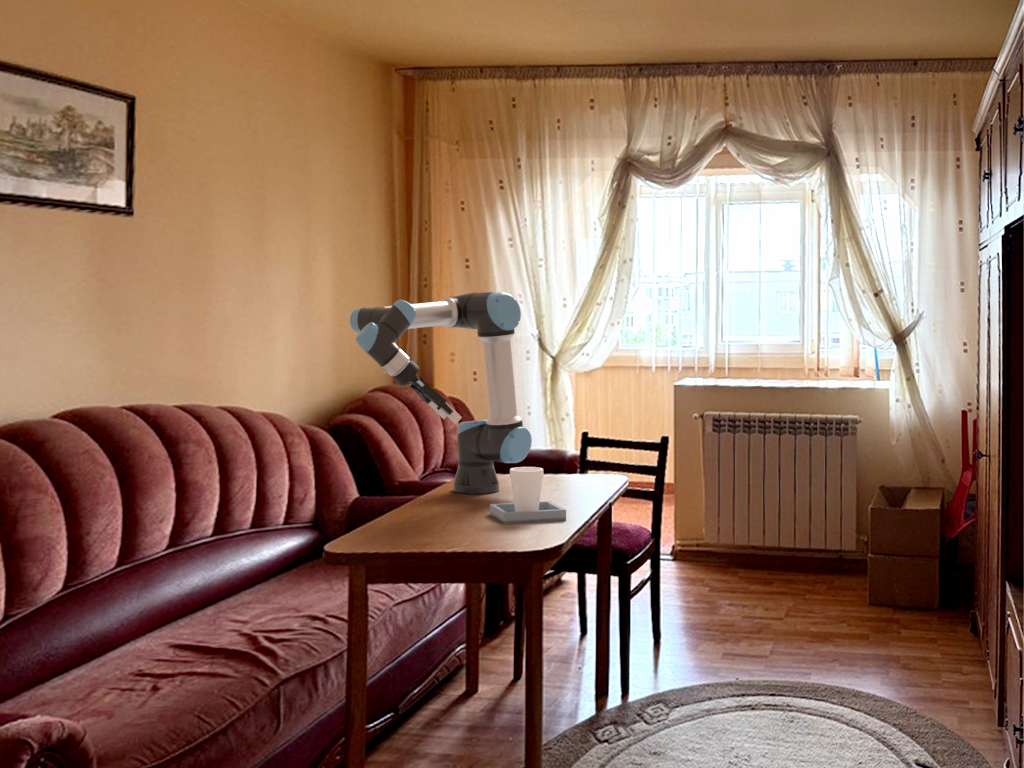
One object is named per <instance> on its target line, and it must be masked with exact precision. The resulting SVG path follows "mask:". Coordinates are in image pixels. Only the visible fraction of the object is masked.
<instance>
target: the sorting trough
mask: <svg viewBox="0 0 1024 768" xmlns="http://www.w3.org/2000/svg"><path fill="white" fill-rule="evenodd" d="M489 515H490V516H491V517H493V518H495V519H496V520H498V521H499V522H500V523H502V524H503V525H510V524H512V525H513V524H526V523H528V524H529V523H544V522H546V523H547V522H562V521H563V522H565V521H567V510H566V509H565V508H563V507H561V506H560V505H558V504H556V503H554V502H552V501H550V500H544V501H540V503H539V511H522V512H515V506H514V502H508V503H507V502H506V503H490V504H489Z"/></svg>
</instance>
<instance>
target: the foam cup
mask: <svg viewBox="0 0 1024 768" xmlns="http://www.w3.org/2000/svg"><path fill="white" fill-rule="evenodd" d="M509 478H510V483H511V491H512V498H513V503H514V506H515V512H522V511H539V503H540V500H541V493H542V486H543V485H542V484H543V480H544V479H543V478H544V468H542V467H538V466H537V467H536V466H520V467H519V466H517V467H511V468H510V469H509Z"/></svg>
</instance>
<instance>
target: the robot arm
mask: <svg viewBox="0 0 1024 768" xmlns="http://www.w3.org/2000/svg"><path fill="white" fill-rule="evenodd" d="M521 317H522V312H521V307H520V305H519V302H518V301H517V299H516V298H515V297H514V295H512V294H510V293H508V292H503V291H502V292H501V291H490V292H489V291H486V292H469V293H464V294H460V295H459V294H458V295H453V296H450V297H449V296H448V297H443V298H441V299H440V300H439V301H429V302H418V303H417V302H416V303H410V302H408V301H406V300H404V299H398V300H396V301H395V302H394V303H392V304H391V305H386V306H385V305H383V306H376V307H373V306H372V307H358V308H355V309H354V310H352V312H351V313H350V316H349V325H350V328H351V329H352V330H353V331H354V332H356V333H357V334H356V336H355V341H356V343H357V345H358V346H359V348H361V349H362V351H364V353H366V354H367V355H368V356H369V357H371V359H373V360H374V361H375V363H377V364H378V366H380V367H381V368H382V369H383V370H382V372H383V373H384V374H388V375H389V376H391V377H392V379H393V380H394V381H395V383H397V384H398V385H399V386H400V387H404V386H406V385H407V384H408V386H409V387H410V389H411V390H412V391H414V392H415V393H416V394H417V395H418V396H419V398H420V399H421V400H422V401H423V402H425V403H426V404H428V406H429V407H430V408H432V410H433V411H434V412H435V413H436V414H437V415H438V416H440V418H442V420H445V419H446V418H448V419H450V421H451V422H452V423H454V425H457V424H458V426H457V461H458V462H457V465H458V466H457V470H456V473H455V477H454V480H453V484H452V491H453V492H454V493H458V494H469V495H470V494H471V495H472V494H476V495H477V494H478V495H479V494H490V493H491V494H492V493H497V492H498V491H500V481H499V479H498V476H497V473H496V469H495V465H494V464H495V463H494V462H499V463H504V464H518V463H520V462H522V461H523V460H525V458H526V457H528V454H529V453H530V451H531V448H532V435H531V434H532V433H531V432H530V431H529V429H528V428H526V427H525V426H523V418H522V417H521V416H520V415H518V411H517V401H516V390H515V389H516V388H515V387H516V386H515V377H514V375H515V374H514V366H513V354H512V353H513V352H512V343H511V339H512V337H514V335H515V333H516V332H515V329H516V328H517V327H518V325H519V324H520V323H519V322H520V321H521ZM440 326H442V327H444V328H446V329H451V328H462V329H469V330H470V329H471V330H477V331H476V333H477V338H479V340H481V341H482V343H483V355H484V356H483V357H484V365H485V374H486V387H487V398H488V410H489V417H488V419H481V420H480V419H479V420H471V421H462V422H460V423H459V421H460V420H461V419H462V418H463V416H461V415H460V413H458V412H457V411H456V410H455V409H454V407H452V406H451V405H450V404H449V403H448V402H447V400H446V398H444V397H443V396H442V395H441V394H439V392H437V390H435V389H433V387H432V386H430V385H429V384H428V383H427V382H426V381H425V379H424V378H422V377H420V376H417V374H418V373H419V371H420V366H419V365H417V364H416V362H414V361H413V359H410V357H409V356H408V354H407V353H405V352H404V351H403V350H402V349H401V348H400V347H399V346H398V344H397V342H398V341H399V339H400V338H401V337H402V336H403V335H404V333H405V332H407V330H410V329H411V330H413V329H419V328H420V329H421V328H430V327H431V328H432V327H440Z"/></svg>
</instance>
